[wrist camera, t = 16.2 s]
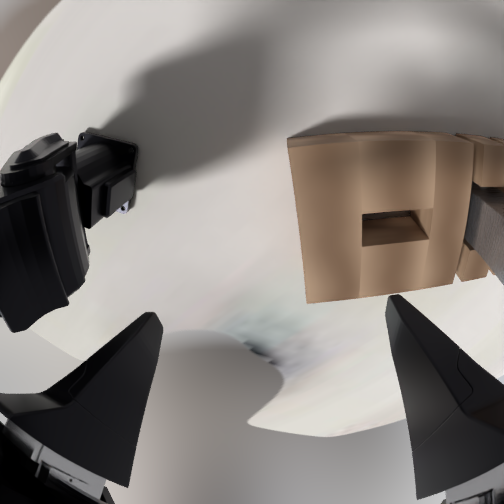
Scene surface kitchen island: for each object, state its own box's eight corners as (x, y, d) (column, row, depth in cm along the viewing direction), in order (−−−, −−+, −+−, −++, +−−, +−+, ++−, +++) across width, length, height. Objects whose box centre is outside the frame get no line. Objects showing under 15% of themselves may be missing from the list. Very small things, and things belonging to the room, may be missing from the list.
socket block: (304, 273, 24) (306, 303, 21) (286, 138, 18) (287, 147, 15) (494, 249, 20) (513, 270, 17) (510, 140, 14) (536, 152, 11)
